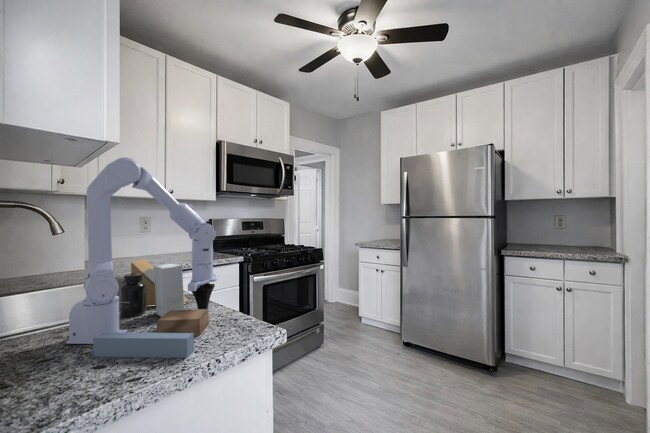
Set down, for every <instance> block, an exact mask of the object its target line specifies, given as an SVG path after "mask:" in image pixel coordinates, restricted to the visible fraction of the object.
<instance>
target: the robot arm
mask: <svg viewBox="0 0 650 433" xmlns="http://www.w3.org/2000/svg"><path fill="white" fill-rule="evenodd" d="M131 184H133V185H132V186H131V187H132V189H136V190H141V191H145V192H146V193H147V194H149V195H150V196H151V197H152V198H154V200H156V201H158V203H160V204H161V205H162V206H163V207H165V208H166V209H167V210H168V212H169V218H170V219H171V220H172V221H174V222H175V223H176V225H178V226H179V227H180V228H181V229H182V230H184V231H185V233H186V234H188V237H189V238H190V240H191V279H190V282H189V283H187V292H191V294H192V295H193V296H194V300H195V303H196V307H197V310H198V309H209V308H208V307H209V303H210V300H211V299H210V298H211V296H212V292H213V290H214V289H215V285H216V284H215V282H217V281H218V278H217V277H216V273H214V246H213V244H214V242H213V241H214V240H215V238H216V236H217V231H216V230H215V228H214V226H213V225H211V223H208V222H207V223H206V219H205V217H201V216H200V215H199V214H198V213H197V212H196V211H195V210H194V208H195V207H194V206H193V205H192V204H187V203H186V202H179V201H178V200H176V198H174V196H173V195H172V194H171V193H170V192H169V191H168V190H167V189H166V188H165V187H164V186H163V185H162V184H161V183H160V182H159V181H158V180H157V179H156V178H155V177H154V176H153V175H152V174H151V173H150V172H149V171H148V170H147V169H146V168H144V167H143V166H140V164H139V163H138V162H137V161H136V160H134V159H132V158H130V157H119V158H117V159H115V160H113V161H111V162H110V163H108V164H107V165H106V166H105V167H104V168H103V169H102V170H101V171H100V172H99V173H98V175H96V177H95V178H94V179H93V181H91V183H90V184H89V185H88V186H87V188H86V217H87V219H86V220H87V242H88V243H87V244H88V246H87V247H88V248H87V250H88V267H87V269H88V270H87V271H88V273H87V277H86V278H85V280H84V282H83V289H84V291H85V295H86V297H85V298H84V299H82V301H78V302H77V303H75V304H74V305H73V306H72V307H71V309H70V312H69V315H68V316H69V317H68V319H69V320H68V322H69V323H68V336H69V338H68V339H69V340H67V341H66V344H70V345H71V344H73V345H74V344H75V345H76V344H77V345H80V344H81V345H83V344H84V345H85V344H86V345H93V338H94V337H96V336H98V335H100V334H102V333H128V331H129V330H128V329H121V328H120V295H119V296H118V293H119V292H120V285H119V282H118V281H117V280H116V277H115V273H114V272H115V271H114V266H113V249H112V248H113V245H112V244H113V242H112V214H111V212H112V210H111V197H112V196H113V195H115V194H116V193H117V192H118V191H119V190H121V188H125V187H127V186H129V185H131ZM212 282H214V283H212Z"/></svg>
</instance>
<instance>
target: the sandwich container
mask: <svg viewBox="0 0 650 433" xmlns="http://www.w3.org/2000/svg"><path fill="white" fill-rule="evenodd" d="M133 273H141V274H143V280H142V282H144V283H145V284H146V305H155V306H156V298H155V275H154V266H153V265H152V264H151V263H149V261H147V259H146V258H141V259H138V260H134V261H131V262H130V274H133ZM185 301H186V302H188V301H189V299H188V298H187V297H186V296H185V295H184V302H185ZM186 302H185V303H186Z"/></svg>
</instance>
